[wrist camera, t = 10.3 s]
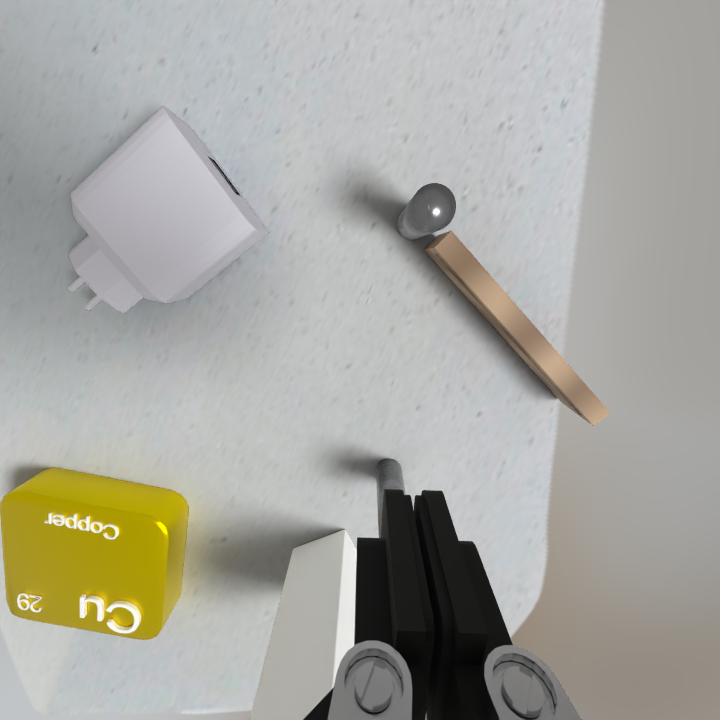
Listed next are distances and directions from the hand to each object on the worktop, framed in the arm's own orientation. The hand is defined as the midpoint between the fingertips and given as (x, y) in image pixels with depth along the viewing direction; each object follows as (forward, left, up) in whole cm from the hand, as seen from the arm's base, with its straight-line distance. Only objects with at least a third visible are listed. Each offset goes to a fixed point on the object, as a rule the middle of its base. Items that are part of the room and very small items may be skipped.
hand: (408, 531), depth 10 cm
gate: (-3, +10, -21) cm, 23 cm away
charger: (-8, -18, -22) cm, 29 cm away
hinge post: (-10, +2, -21) cm, 24 cm away
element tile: (+22, -26, -22) cm, 40 cm away
